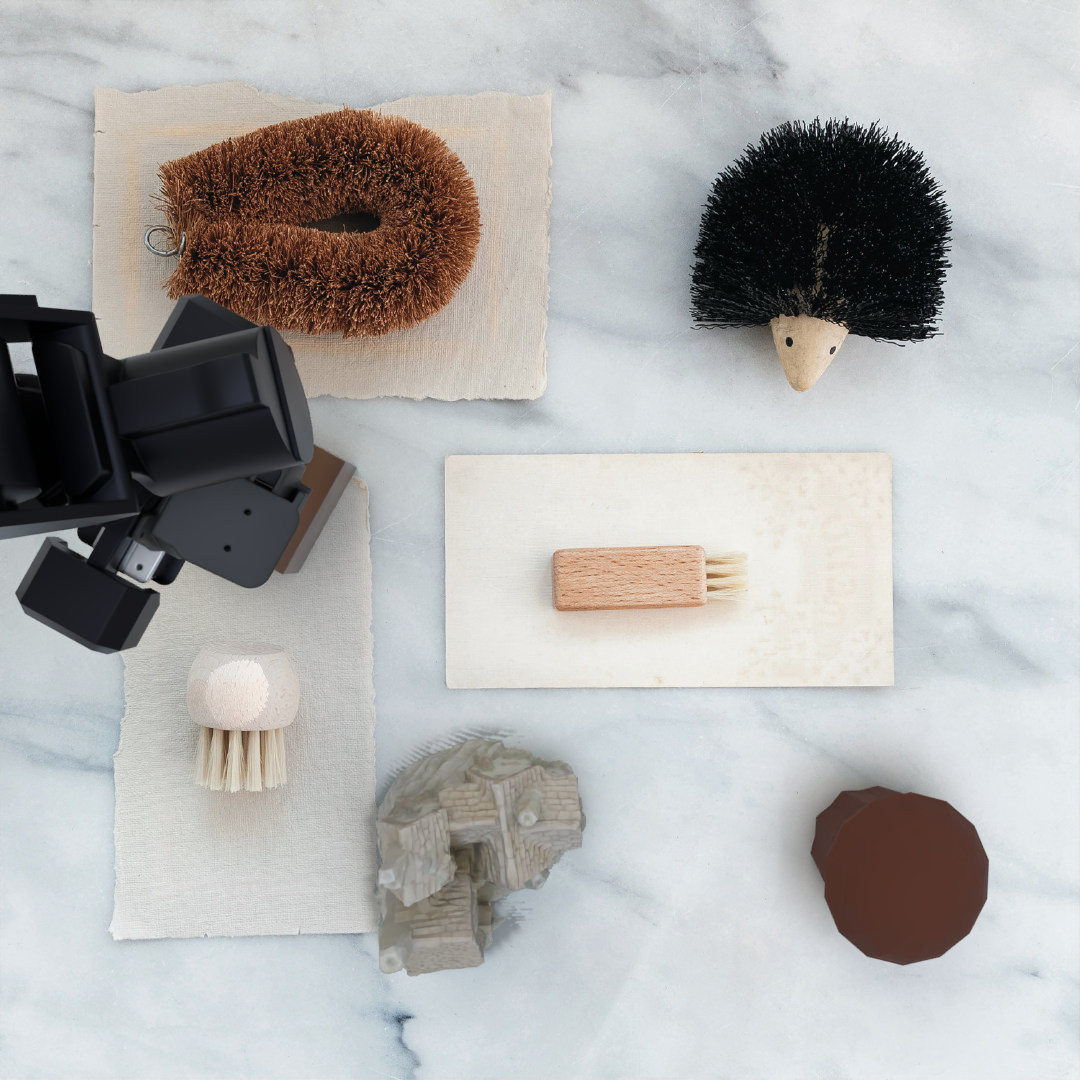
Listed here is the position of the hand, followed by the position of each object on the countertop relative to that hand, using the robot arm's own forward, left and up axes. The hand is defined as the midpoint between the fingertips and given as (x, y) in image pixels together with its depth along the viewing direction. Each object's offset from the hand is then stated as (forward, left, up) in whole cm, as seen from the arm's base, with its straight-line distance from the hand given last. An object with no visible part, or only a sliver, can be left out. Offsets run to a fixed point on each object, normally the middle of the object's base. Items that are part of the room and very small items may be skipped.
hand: (217, 486), depth 53 cm
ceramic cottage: (+26, -15, -11) cm, 33 cm away
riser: (0, +1, -11) cm, 11 cm away
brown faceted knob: (+52, -1, -11) cm, 54 cm away
